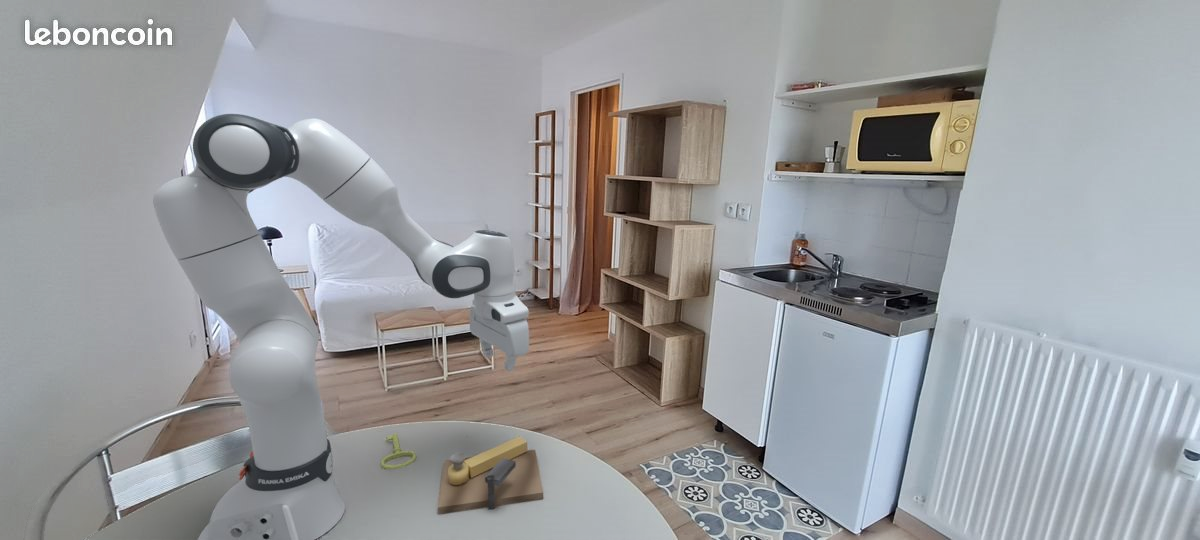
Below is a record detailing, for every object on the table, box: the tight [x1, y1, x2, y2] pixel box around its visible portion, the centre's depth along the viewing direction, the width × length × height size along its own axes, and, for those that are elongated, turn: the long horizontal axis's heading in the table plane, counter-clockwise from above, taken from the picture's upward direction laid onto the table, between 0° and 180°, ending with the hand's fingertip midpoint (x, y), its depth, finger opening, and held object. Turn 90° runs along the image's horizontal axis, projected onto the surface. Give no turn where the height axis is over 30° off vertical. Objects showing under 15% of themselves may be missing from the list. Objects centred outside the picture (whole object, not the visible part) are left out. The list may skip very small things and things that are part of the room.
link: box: [448, 435, 528, 485], centre depth 102 cm, size 18×4×2 cm, turn 134°
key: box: [380, 432, 417, 470], centre depth 108 cm, size 7×12×2 cm, turn 46°
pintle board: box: [437, 449, 544, 515], centre depth 98 cm, size 20×16×7 cm
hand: (498, 362), depth 106 cm, fingers open, 8 cm apart
